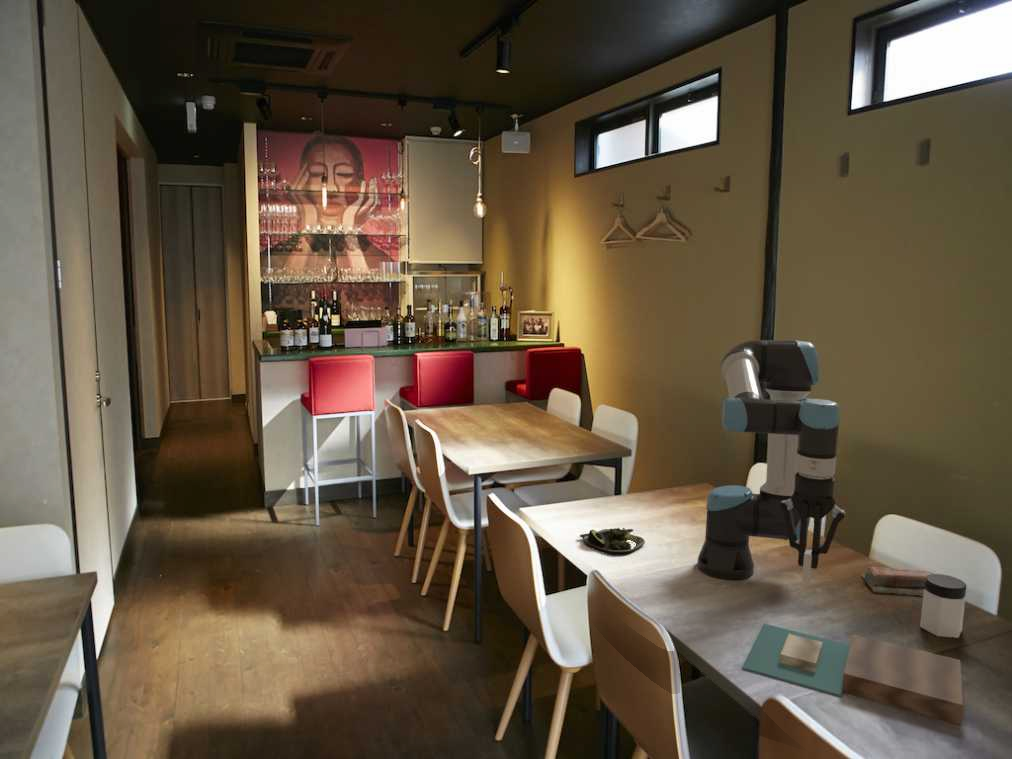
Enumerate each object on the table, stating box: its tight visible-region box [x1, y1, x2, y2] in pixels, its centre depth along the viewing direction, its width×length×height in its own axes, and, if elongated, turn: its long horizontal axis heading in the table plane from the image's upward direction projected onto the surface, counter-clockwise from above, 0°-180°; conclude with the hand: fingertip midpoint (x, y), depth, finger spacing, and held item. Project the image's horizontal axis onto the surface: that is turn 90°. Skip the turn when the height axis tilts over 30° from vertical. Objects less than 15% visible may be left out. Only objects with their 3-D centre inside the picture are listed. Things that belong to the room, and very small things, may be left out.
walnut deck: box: [842, 634, 964, 726], centre depth 144 cm, size 20×18×4 cm
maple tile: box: [780, 634, 823, 672], centre depth 154 cm, size 7×10×2 cm
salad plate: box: [579, 527, 646, 556], centre depth 219 cm, size 19×18×5 cm
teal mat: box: [741, 623, 850, 697], centre depth 154 cm, size 19×22×1 cm
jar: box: [919, 573, 967, 639], centre depth 166 cm, size 9×8×12 cm
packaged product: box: [861, 566, 934, 597], centre depth 189 cm, size 18×5×10 cm
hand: (806, 580), depth 151 cm, fingers closed
